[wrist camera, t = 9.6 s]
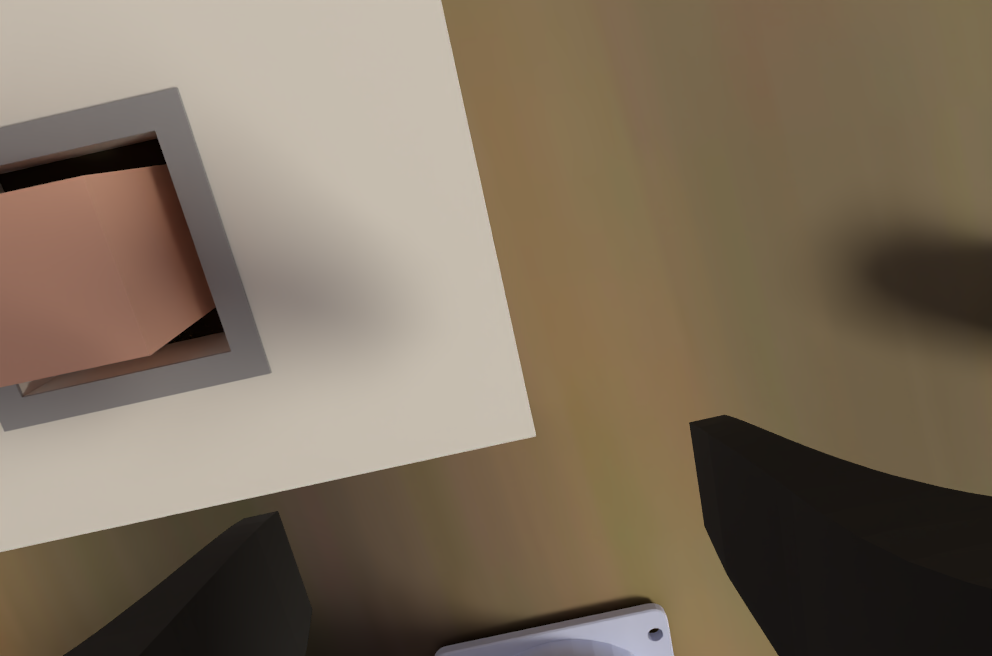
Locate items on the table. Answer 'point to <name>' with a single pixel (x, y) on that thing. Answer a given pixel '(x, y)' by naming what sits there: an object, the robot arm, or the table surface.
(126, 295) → the plug block
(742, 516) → the robot arm
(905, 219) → the table surface
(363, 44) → the outlet block
